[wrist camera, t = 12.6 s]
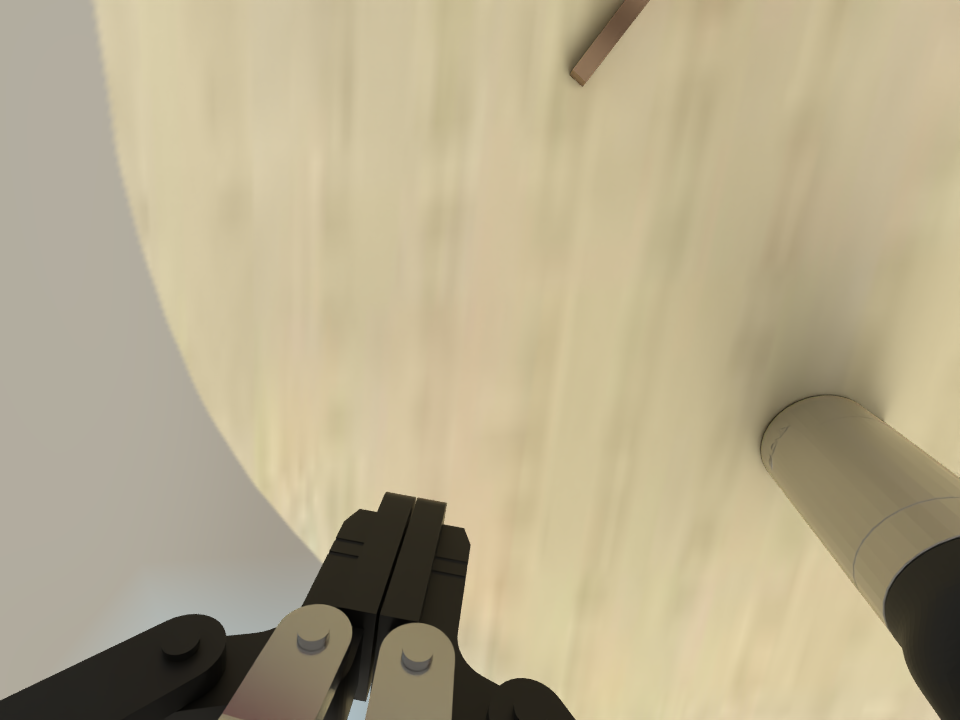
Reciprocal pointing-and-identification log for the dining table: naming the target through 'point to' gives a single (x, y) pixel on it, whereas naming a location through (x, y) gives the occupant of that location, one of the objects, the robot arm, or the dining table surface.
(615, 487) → the dining table surface
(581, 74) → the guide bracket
